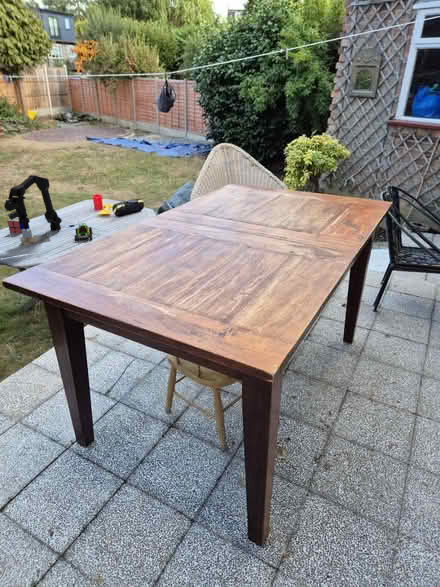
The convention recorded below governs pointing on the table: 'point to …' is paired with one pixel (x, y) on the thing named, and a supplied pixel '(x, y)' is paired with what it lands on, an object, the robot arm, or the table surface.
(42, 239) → the board
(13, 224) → the puzzle cube
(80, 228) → the motor vehicle
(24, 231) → the block
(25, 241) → the block
